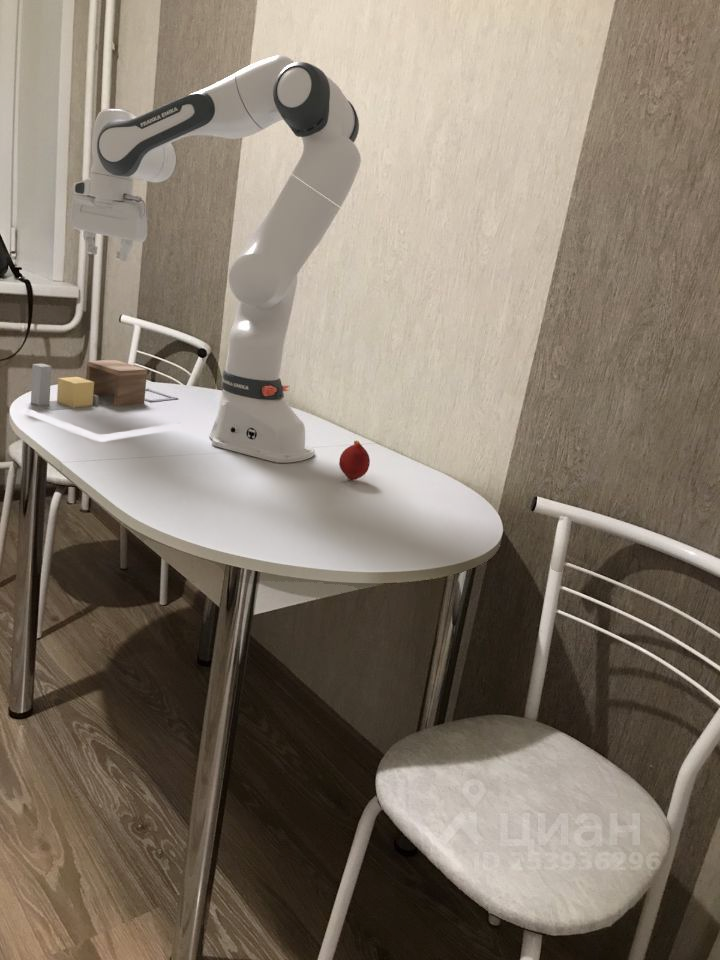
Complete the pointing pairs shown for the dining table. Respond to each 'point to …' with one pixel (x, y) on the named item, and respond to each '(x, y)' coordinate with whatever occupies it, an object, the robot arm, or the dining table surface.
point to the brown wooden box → (118, 381)
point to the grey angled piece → (42, 389)
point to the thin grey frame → (160, 394)
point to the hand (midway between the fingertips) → (106, 257)
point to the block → (75, 391)
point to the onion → (354, 461)
